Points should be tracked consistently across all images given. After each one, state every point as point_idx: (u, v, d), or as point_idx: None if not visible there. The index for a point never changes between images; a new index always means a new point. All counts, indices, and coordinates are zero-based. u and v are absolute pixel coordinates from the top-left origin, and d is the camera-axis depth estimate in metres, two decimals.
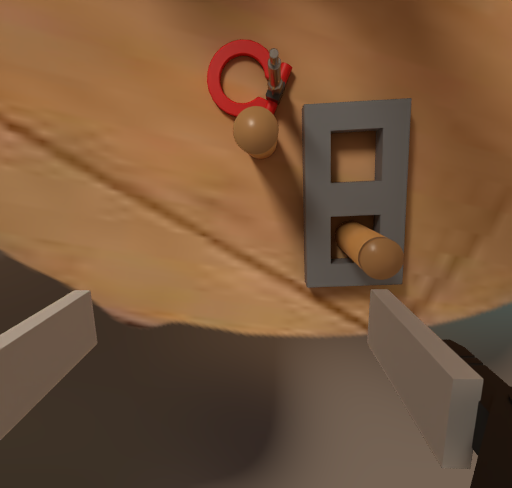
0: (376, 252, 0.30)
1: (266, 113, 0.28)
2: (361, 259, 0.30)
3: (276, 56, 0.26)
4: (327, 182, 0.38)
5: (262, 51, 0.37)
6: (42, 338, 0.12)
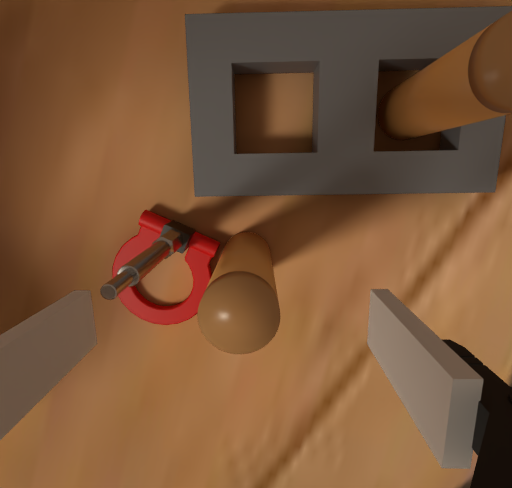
0: None
1: (210, 297, 0.15)
2: None
3: (113, 287, 0.15)
4: (315, 158, 0.23)
5: (125, 251, 0.26)
6: (42, 338, 0.12)
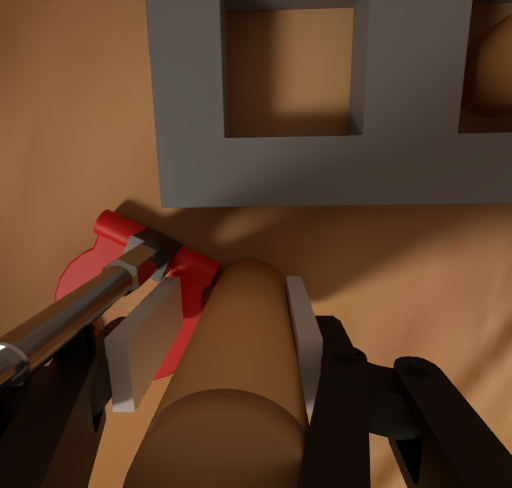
0: None
1: (152, 464, 0.06)
2: None
3: None
4: (359, 144, 0.14)
5: (74, 272, 0.17)
6: (160, 314, 0.13)
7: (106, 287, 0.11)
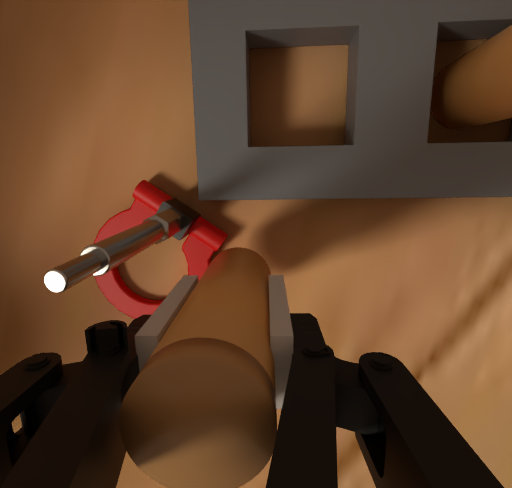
0: None
1: (148, 385, 0.08)
2: None
3: (63, 275, 0.10)
4: (351, 152, 0.18)
5: (112, 226, 0.22)
6: None
7: (149, 231, 0.15)
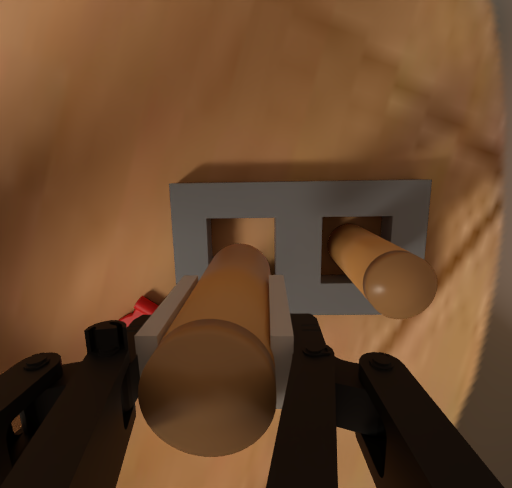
0: (389, 296, 0.19)
1: (164, 359, 0.09)
2: (398, 317, 0.19)
3: None
4: None
5: None
6: None
7: None
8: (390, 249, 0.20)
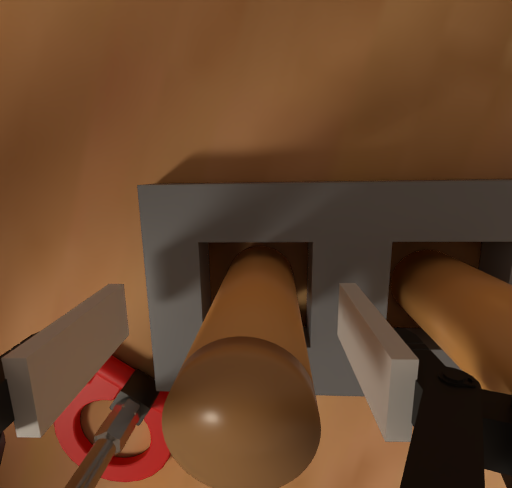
0: None
1: (192, 384, 0.08)
2: None
3: None
4: (308, 353, 0.18)
5: None
6: (87, 327, 0.12)
7: (94, 473, 0.15)
8: None
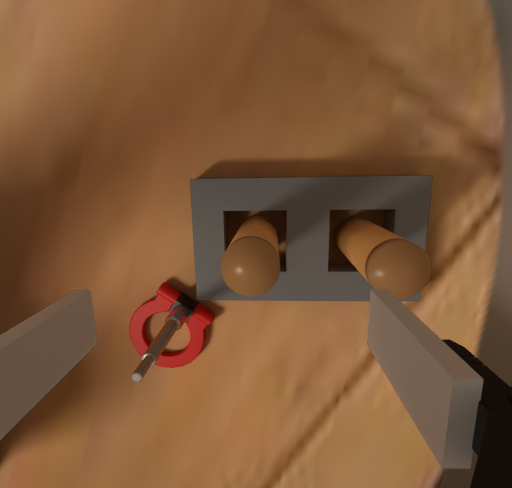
0: (388, 279, 0.21)
1: (232, 250, 0.21)
2: None
3: (140, 375, 0.23)
4: (285, 275, 0.31)
5: (143, 310, 0.35)
6: (42, 338, 0.12)
7: (170, 331, 0.28)
8: (390, 237, 0.22)
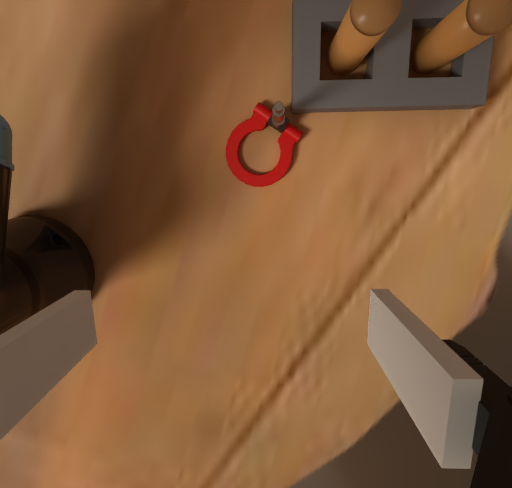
0: (488, 11, 0.27)
1: None
2: (493, 30, 0.27)
3: (281, 104, 0.28)
4: (371, 82, 0.37)
5: (240, 128, 0.40)
6: (42, 338, 0.12)
7: None
8: None
